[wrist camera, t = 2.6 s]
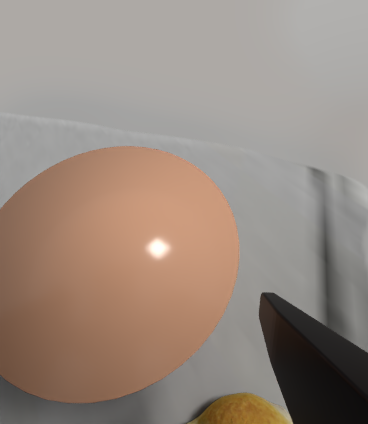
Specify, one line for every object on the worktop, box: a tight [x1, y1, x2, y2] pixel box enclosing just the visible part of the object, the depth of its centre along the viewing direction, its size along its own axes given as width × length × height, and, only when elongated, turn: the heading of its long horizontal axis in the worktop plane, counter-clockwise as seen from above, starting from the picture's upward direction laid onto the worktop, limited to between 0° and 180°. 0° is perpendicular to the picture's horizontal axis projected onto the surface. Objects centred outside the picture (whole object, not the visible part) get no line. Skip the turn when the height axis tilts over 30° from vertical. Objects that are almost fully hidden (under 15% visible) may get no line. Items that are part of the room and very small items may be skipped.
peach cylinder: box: [0, 146, 239, 403], centre depth 11 cm, size 6×6×12 cm
